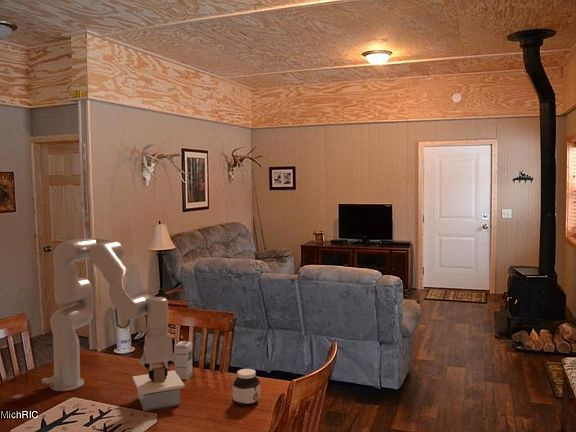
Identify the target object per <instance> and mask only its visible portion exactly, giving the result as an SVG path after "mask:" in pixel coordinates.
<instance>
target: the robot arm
mask: <svg viewBox="0 0 576 432" xmlns="http://www.w3.org/2000/svg"><path fill="white" fill-rule="evenodd" d="M124 255H125V249H124V247H123V245H122V244H121V243H120V242H119V241H116V240H112V239H106V238H99V237H85V238H77V239H70V240H66V241H64V242H62V243H61V242H60V243H59V244H58V245H56V247H55V249H54V251H53V257H52V260H53V267H54V300H55V302H56V303H57V304H58V305H60V306H65V307H62V308H59V309H58V310H56V311H55V312H53V314H51V316H50V319H49V323H50V329H51V333H52V341H53V342H52V343H53V374H52V375H53V376H50V377H45V378H44V377H43V378H41V384H45V385H49V387H50V390H52V391H55V392H68V391H74V390H76V389H79V388H82V386H84V384H85V379H83V378H81V363H80V361H81V360H80V356H81V355H80V340H79V336H78V334H77V333H76V330H77V329H79V328H82V327H86V326H87V325H89V324H90V323H91V322H92V320H93V318H94V317H93V316H94V288H93V284H92V283H91V281H90V280H89V279H88V278H86V277H79V271H78V267H77V265H76V263H75V262H80V261H85V260H86V261H87V260H91V262H92V263H93V265H94V266H95V267H96V268H97V270H98V271H99V272H100V274H101V275H102V276H103V277H104V279H105V280H106V282H107V283H108V293H109V298H110V301H111V304H112V305H113V306H114V308H115V309H116V310H117V312H119V314H120V315H121V317H123V318H124V319H126V320H134V319H138V318H139V317H143V316H145V315H146V316H147V319H146V323H147V326H146V328H144V329H143V330H142V332H143V334H145V337H144V344H143V354H142V356H141V358H140V359H139V360H138V364H139V365H141V366H142V367H144V368H146V369H147V370H148V374H149V379H151V381H154V377H153V366H154V364H157V363H158V364H159V363H163V367H164V368H165V379H166V376H167V371H168V369H169V367H170V366H171V365H172V363H174V362H175V360H176V359H177V357H176V356H175V352H173V351H174V350H173V341H172V335H171V333H170V332H169V301H168V299H167V298H166V297H163V296H153V295H151V294H143V293H142V294H141V295H137V296H134V297H133V296H132V297H130V295H129V294H128V293H127V291H126V290H125V288H124V287H125V286H124V280H125V279H126V277H127V276H128V274H129V270H128V268H127V267H126V265H125V264H124V263H123V262H122V259H123V258H124ZM72 304H73V305H72ZM68 305H69V306H68Z"/></svg>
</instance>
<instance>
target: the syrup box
mask: <svg viewBox="0 0 576 432" xmlns="http://www.w3.org/2000/svg"><path fill="white" fill-rule="evenodd" d="M174 355H175V356H176V357H177V359H176V360H175V361H174V370H175V372H176V373H177V375H178V376H179V377H180V379H181V380H189V378H191V377H192V376H193V375H194V368H193V365H194V364H193V362H194V361H193V342H192V341H188V340H186V341H185V340H183V341H182V340H180V341H179V342H177V343H176V344H175V345H174Z"/></svg>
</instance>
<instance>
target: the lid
mask: <svg viewBox="0 0 576 432" xmlns="http://www.w3.org/2000/svg"><path fill="white" fill-rule="evenodd" d="M163 365H164V364H163ZM163 365H162V364H160V365H153V377H154V381H151V379H149V373H146V374H141V375H134V376H132V380H133V383H134V385H135V387H136V389H137V392H138V391H139V393H140V395H142V394H148V393H154V392H160V391H166V390H172V389H184V388H185V387H186V386H185V383H184V382H183V381H182V380H183V379H180V377H179V376H178V375H177V373H176V372H175V369H174V370H167V376H166V379H165V368H164V367H163Z"/></svg>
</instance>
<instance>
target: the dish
mask: <svg viewBox="0 0 576 432" xmlns="http://www.w3.org/2000/svg"><path fill="white" fill-rule="evenodd" d="M137 400H138V402H139V404H140V406H141V409H142V410H143V412H144V411H145V412H150V411H155V410H162V409H168V408H173V407H179V406H181V388H179V389H172V390H166V391H160V392H154V393H148V394H142V395H140V393H139V391H138V390H137Z"/></svg>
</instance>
